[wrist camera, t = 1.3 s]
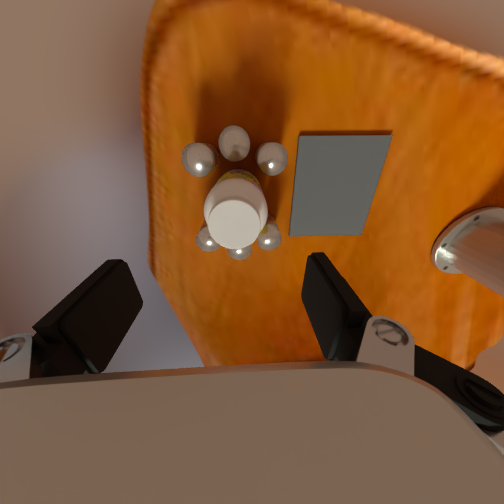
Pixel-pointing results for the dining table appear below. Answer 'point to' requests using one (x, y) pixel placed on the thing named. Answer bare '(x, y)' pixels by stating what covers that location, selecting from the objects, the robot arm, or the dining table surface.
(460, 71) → the dining table surface
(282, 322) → the dining table surface
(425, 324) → the dining table surface
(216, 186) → the supplement bottle
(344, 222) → the rubber mat
